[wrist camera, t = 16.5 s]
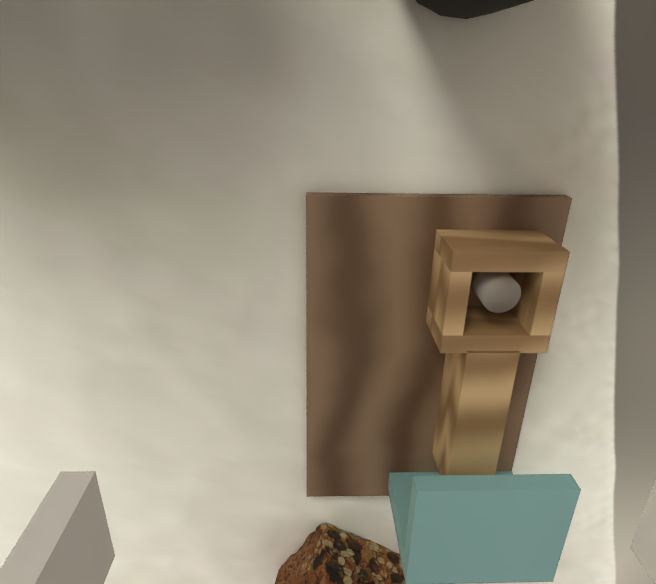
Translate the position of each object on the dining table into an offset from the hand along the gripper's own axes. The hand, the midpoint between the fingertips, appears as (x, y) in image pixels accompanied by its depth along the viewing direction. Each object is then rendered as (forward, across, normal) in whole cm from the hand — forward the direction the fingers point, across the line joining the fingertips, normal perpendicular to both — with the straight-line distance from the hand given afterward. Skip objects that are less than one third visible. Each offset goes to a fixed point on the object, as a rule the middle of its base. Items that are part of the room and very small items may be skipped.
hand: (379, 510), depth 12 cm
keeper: (+29, +12, -23) cm, 39 cm away
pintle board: (+29, +8, -14) cm, 33 cm away
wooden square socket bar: (+28, +12, -12) cm, 33 cm away
